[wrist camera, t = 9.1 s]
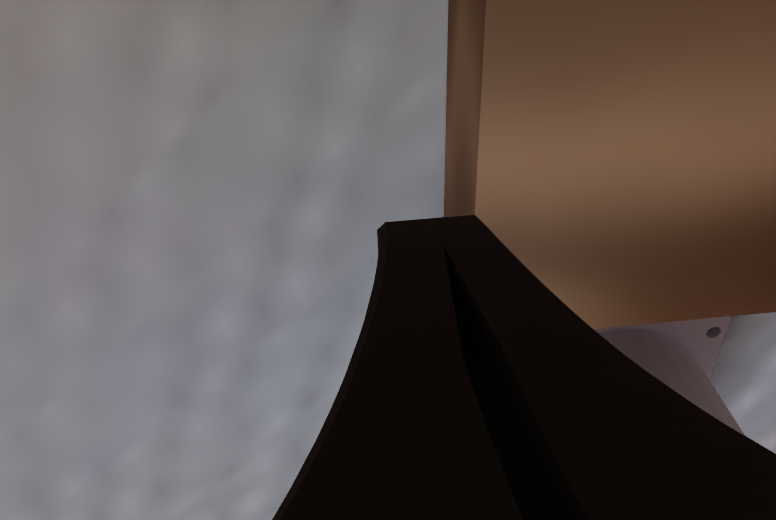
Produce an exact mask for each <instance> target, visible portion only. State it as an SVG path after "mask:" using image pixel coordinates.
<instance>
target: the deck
mask: <svg viewBox="0 0 776 520" xmlns="http://www.w3.org/2000/svg"><path fill="white" fill-rule="evenodd" d="M466 215H476V216H477V217H478V218H479V219H480V220H481V221H482V222H483V223H484V224H485V225H486V226H487V227H488V228H489V229H490V230H491V231H492V232H493V233H494V234H495V236H496V237H497V238H498V239H499V240H500V241H501V242H502V243H503V244H504V245H505V246H506V247H507V248H508V249H509V250H510V251H511V252H512V253H513V254H514V255H515V256H516V257H517V258H518V259H519V260H520V261H521V262H522V263H523V264H524V265H525V266H526V267H527V268H528V269H529V270H530V271H531V272H532V273H533V274H534V275H535V276H536V277H537V278H538V279H539V280H540V281H541V282H542V283H543V284H544V285H545V286H546V287H547V288H548V289H549V290H550V291H552V292H553V293H554V294H555V295H556V296H557V297H558V298H559V299H560V300H561V301H562V302H563V303H564V304H566V305H567V306H568V307H569V308H570V309H571V310H572V311H573V312H574V313H575V314H576V315H578V316H579V317H580V318H581V319H582V320H583V321H585V322H586V323H587V324H588V325H589V326H590V327H591V328H593V329H601V328H611V327H622V326H632V325H643V324H653V323H664V322H674V321H685V320H695V319H705V318H716V317H726V316H737V315H747V314H758V313H768V312H776V0H449V6H448V53H447V100H446V147H445V194H444V217H454V216H466Z"/></svg>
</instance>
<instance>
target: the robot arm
mask: <svg viewBox="0 0 776 520" xmlns="http://www.w3.org/2000/svg"><path fill="white" fill-rule="evenodd" d="M377 236H378V262H377V269H376V274H375V280H374V285H373V289H372V293H371V297H370V301H369V304H368V308H367V312H366V316H365V320H364V323H363V326H362V330H361V333H360V335H359V338H358V341H357V344H356V347H355V349H354V352H353V355H352V358H351V361H350V363H349V366H348V369H347V372H346V374H345V377H344V380H343V382H342V384H341V387H340V389H339V392H338V394H337V396H336V399H335V401H334V403H333V405H332V408H331V410H330V412H329V414H328V416H327V418H326V421H325V423H324V425H323V427H322V429H321V431H320V433H319V435H318V437H317V439H316V441H315V443H314V445H313V447H312V449H311V451H310V453H309V455H308V457H307V458H306V460H305V462H304V464H303V466H302V468H301V470H300V472H299V474H298V475H297V477H296V479H295V481H294V483H293V485H292V487H291V488H290V490H289V492H288V494H287V495H286V497H285V499H284V501H283V502H282V504H281V506H280V507H279V509H278V511H277V513H276V514H275V516H274V518H273V519H272V520H776V454H775V453H773V452H771V451H770V450H768V449H766V448H765V447H763V446H761V445H760V444H758V443H756V442H754V441H753V440H751V439H749V438H748V437H746V436H745V435H744V433H743V432H742V430H741V429H740V427H739V426H738V424H737V422H736V421H735V419H734V418H733V416H732V415H731V413H730V412H729V410H728V408H727V407H726V405H725V404H724V402H723V401H722V399H721V397H720V396H719V394H718V393H717V391H716V390H715V388H714V387H713V385H712V383H711V382H710V377H711V374H712V371H713V368H714V365H715V362H716V359H717V357H718V354H719V351H720V348H721V345H722V342H723V339H724V336H725V334H726V331H727V328H728V325H729V322H730V318H731V316H726V317H716V318H705V319H695V320H685V321H674V322H664V323H653V324H643V325H632V326H622V327H611V328H601V329H593V328H591V327H590V326H589V325H588V324H587V323H586V322H585V321H583V320H582V319H581V318H580V317H579V316H578V315H576V314H575V313H574V312H573V311H572V310H571V309H570V308H569V307H568V306H567V305H566V304H564V303H563V302H562V301H561V300H560V299H559V298H558V297H557V296H556V295H555V294H554V293H553V292H552V291H550V290H549V289H548V288H547V287H546V286H545V285H544V284H543V283H542V282H541V281H540V280H539V279H538V278H537V277H536V276H535V275H534V274H533V273H532V272H531V271H530V270H529V269H528V268H527V267H526V266H525V265H524V264H523V263H522V262H521V261H520V260H519V259H518V258H517V257H516V256H515V255H514V254H513V253H512V252H511V251H510V250H509V249H508V248H507V247H506V246H505V245H504V244H503V243H502V242H501V241H500V240H499V239H498V238H497V237H496V236H495V234H494V233H493V232H492V231H491V230H490V229H489V228H488V227H487V226H486V225H485V224H484V223H483V222H482V221H481V220H480V219H479V218H478V217H477V216H476V215H466V216H454V217H442V218H430V219H418V220H406V221H394V222H385V223H384V224H383V225H382V226H381V227H380V228H379V229H378V230H377ZM711 328H712V329H711ZM709 329H710V330H709Z"/></svg>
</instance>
